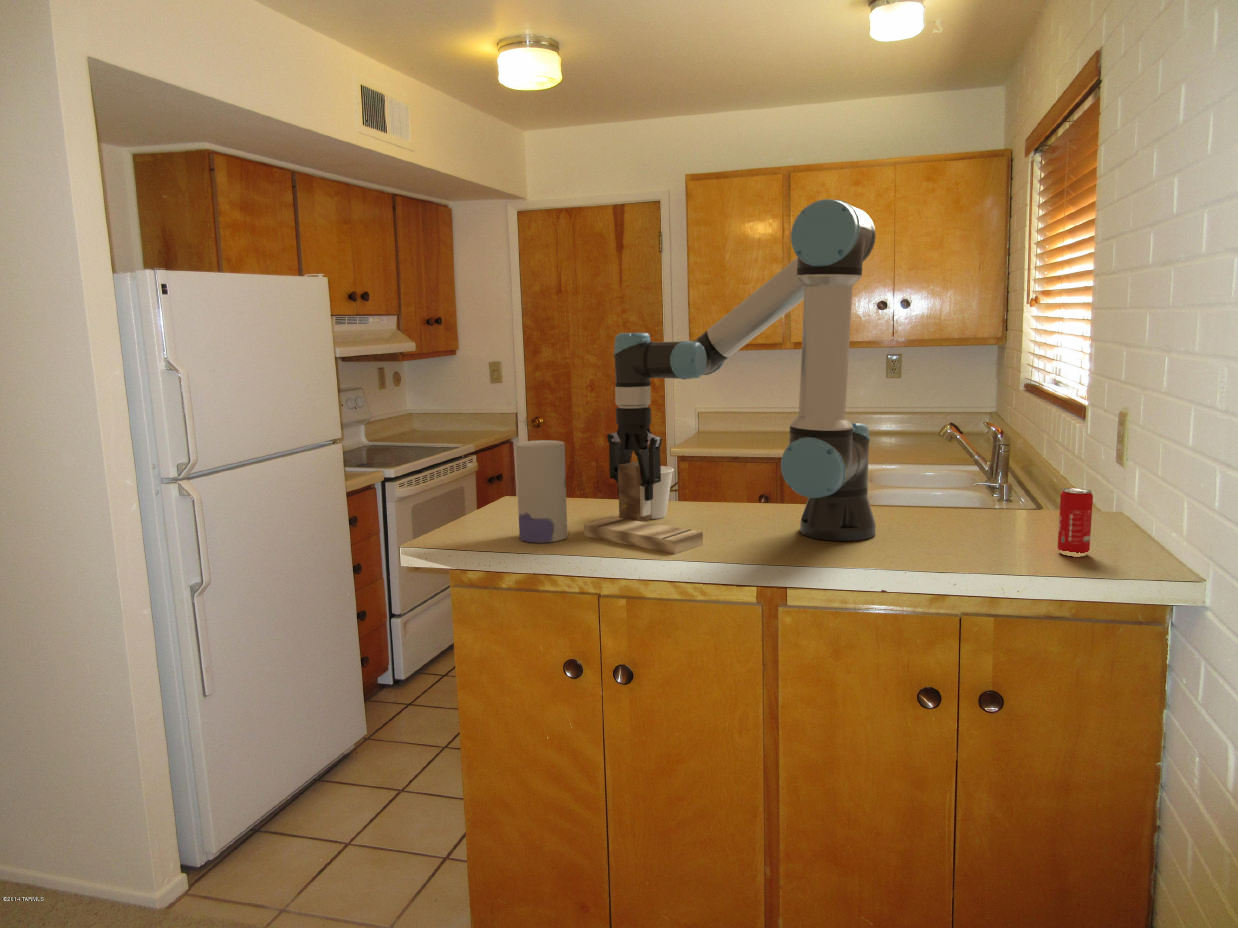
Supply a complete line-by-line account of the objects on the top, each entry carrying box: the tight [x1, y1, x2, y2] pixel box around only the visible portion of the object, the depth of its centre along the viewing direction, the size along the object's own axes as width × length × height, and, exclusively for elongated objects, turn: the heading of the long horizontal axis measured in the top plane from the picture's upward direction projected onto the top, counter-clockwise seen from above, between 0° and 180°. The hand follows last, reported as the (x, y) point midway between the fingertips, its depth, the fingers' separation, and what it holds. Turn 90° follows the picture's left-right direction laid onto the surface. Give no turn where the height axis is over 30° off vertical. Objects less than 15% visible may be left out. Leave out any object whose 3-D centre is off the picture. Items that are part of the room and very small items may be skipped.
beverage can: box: [1057, 487, 1094, 553], centre depth 156 cm, size 5×5×12 cm
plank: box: [583, 516, 704, 555], centre depth 174 cm, size 24×9×3 cm, turn 49°
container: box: [515, 439, 568, 544], centre depth 176 cm, size 10×10×20 cm
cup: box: [650, 465, 675, 520], centre depth 195 cm, size 10×10×11 cm
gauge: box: [618, 461, 652, 522], centre depth 183 cm, size 5×6×12 cm
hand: (635, 513), depth 184 cm, fingers closed on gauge, 5 cm apart
